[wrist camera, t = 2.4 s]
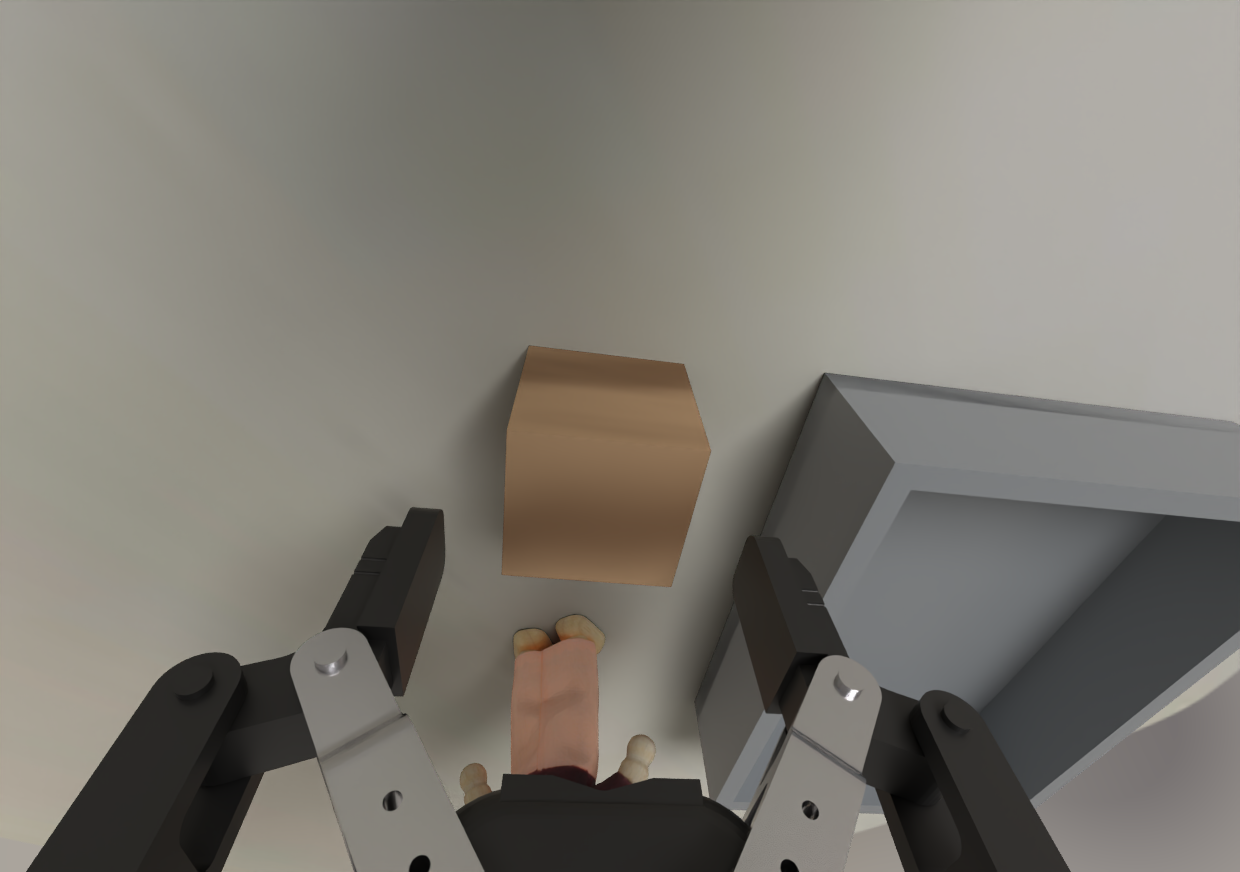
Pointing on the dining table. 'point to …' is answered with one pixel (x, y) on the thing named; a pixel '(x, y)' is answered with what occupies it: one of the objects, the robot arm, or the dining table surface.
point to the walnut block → (601, 468)
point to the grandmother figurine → (560, 712)
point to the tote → (999, 568)
